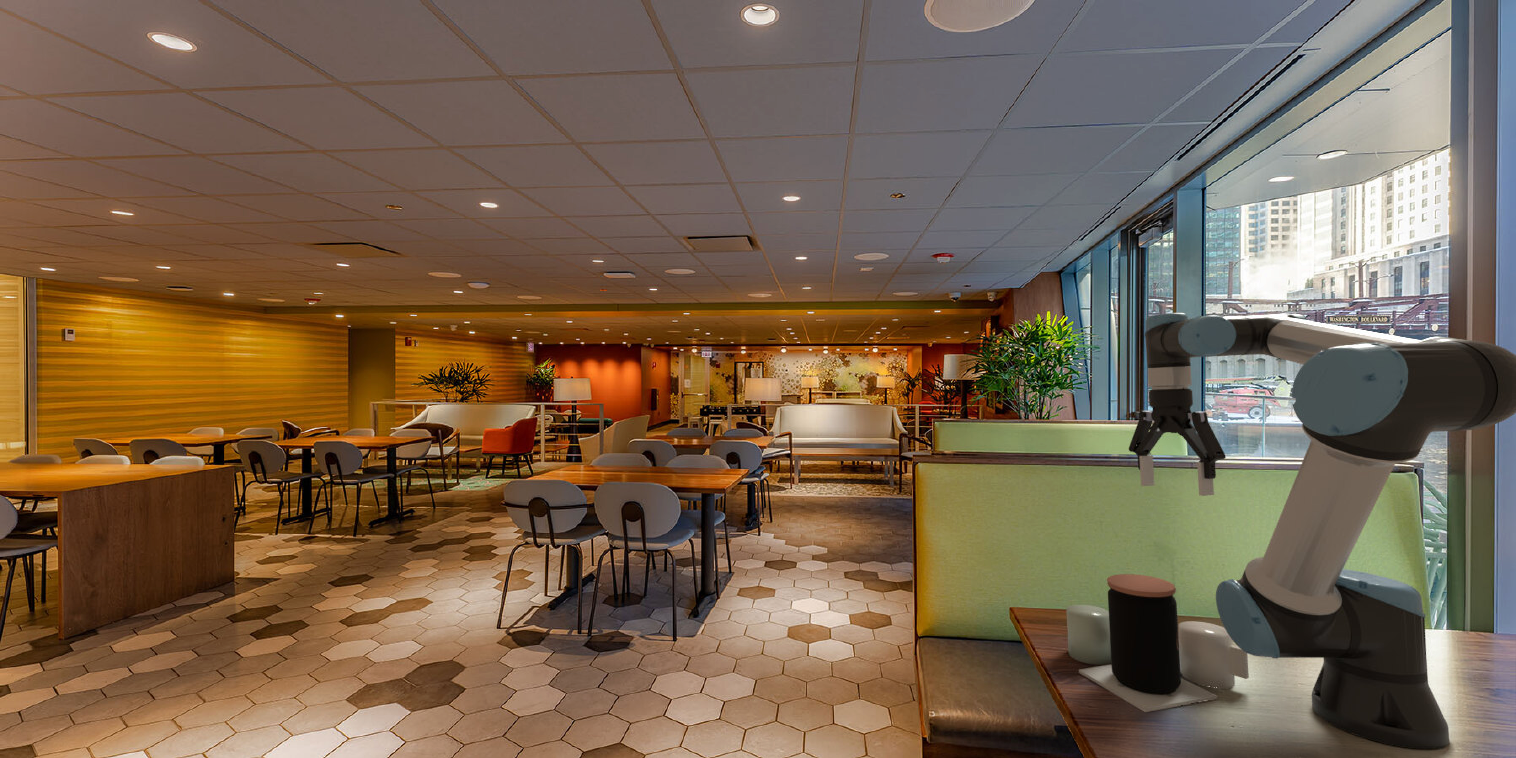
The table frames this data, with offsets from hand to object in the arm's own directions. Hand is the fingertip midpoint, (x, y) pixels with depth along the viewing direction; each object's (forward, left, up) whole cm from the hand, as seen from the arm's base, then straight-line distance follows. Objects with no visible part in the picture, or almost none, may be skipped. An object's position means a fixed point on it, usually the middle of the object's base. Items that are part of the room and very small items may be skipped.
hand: (1175, 490), depth 125 cm
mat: (-10, +20, -33) cm, 40 cm away
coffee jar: (-10, +20, -32) cm, 39 cm away
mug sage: (+2, +19, -33) cm, 38 cm away
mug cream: (-12, +7, -33) cm, 36 cm away
